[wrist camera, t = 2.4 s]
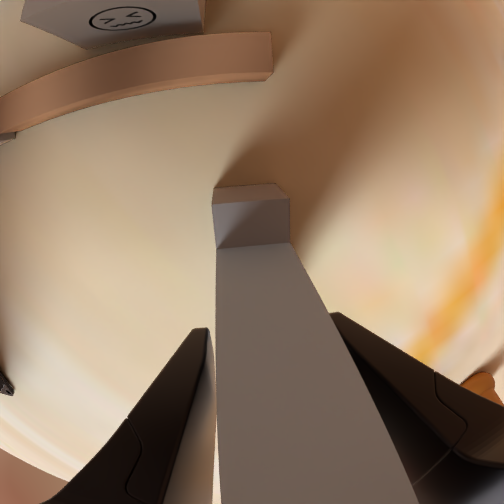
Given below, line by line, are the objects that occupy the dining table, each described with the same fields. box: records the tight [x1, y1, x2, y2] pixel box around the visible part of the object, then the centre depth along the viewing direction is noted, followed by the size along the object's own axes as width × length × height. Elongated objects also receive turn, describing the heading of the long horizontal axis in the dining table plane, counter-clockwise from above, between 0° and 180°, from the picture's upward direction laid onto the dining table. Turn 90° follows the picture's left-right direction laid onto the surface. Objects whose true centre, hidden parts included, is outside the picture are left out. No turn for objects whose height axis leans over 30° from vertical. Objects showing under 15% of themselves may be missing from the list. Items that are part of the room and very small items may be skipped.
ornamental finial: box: [460, 372, 504, 406], centre depth 19 cm, size 8×8×8 cm
